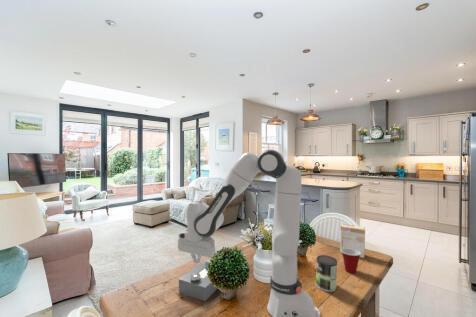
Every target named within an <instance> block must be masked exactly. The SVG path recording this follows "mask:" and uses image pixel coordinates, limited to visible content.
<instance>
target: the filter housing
mask: <svg viewBox="0 0 476 317" xmlns="http://www.w3.org/2000/svg"><path fill="white" fill-rule="evenodd" d="M204 268H205V263H201V262H200V263H197V265H196V266H194V267H193V268H191V269H190V270H189V271H188V272H187V273H185V274H183V276H181V277H180V278H178V292H179V293H181V294H183V295H186V296H188V297H191V298H195V299H197V300H200V301H202V300H203V302H206V301H207V300H208V299H209V298H210V297H211V296H212V295H213V294H214V293H215V292H216V291H217V289H216V287H214V286H213V285H212V283H211V281H210V280H209V278H208V275H207V276H206V277H205V278H200V281H198V282H197V283H194V282H191V274H193V273H200V272H201V271H202V270H203V269H204Z"/></svg>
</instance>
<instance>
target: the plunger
mask: <svg viewBox="0 0 476 317" xmlns="http://www.w3.org/2000/svg"><path fill="white" fill-rule="evenodd" d="M198 281H200V274H199V273H193V274H191V282H194V283H197V282H198Z"/></svg>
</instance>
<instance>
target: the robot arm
mask: <svg viewBox="0 0 476 317" xmlns="http://www.w3.org/2000/svg"><path fill="white" fill-rule="evenodd" d="M259 173H262V174H264V175H266V176H268V177H271V178H273V179H275V193H274V206H273V207H274V209H273V221H272V222H273V223H272V231H271V244H272V246H271V247H272V250H271V276H270V279H269V280H270V281H269V282H270V283H269V284H270V285H269V286H270V294H269V299H268V304H267V308H266V309H267V311H268V313H269V314H270V316H271V317H321V312H320V310H319V308H318V307H317V306H315V303H314V299H313V297H312V296H311V295H309V294H308V292H306V291H305V290H304V289H303V288H302V286H303V285H302V283H303V281H302V280H299V279H298V247H299V244H300V243H299V242H300V229H301V228H300V224H301V223H300V221H301V220H300V218H301V217H300V215H301V214H300V213H301V203H302V188H303V187H302V184H303V183H302V175H301V174H302V173H301V171H300V170H299V169H298V168H297V167H294V166H289V165H287V164H286V163H285V159H284V156H283V155H282V154H281V153H280V152H279V151H278V150H275V149H267V150H264V151H263V152H261V153H260V154H259V155H256V154H255V153H253V152H244V153H243V154H242V155H241V156H240V157H239V158H238V159H237V161H235V163H234V164H233V166H232V168H231V169H230V170H229V172H228V174H227V176H226V177H225V180H224V182H223V184H222V185H221V188H220V189H219V191H218V193H217V194H216V195H215V197H214V198H213V200H212V201H211V203H210V204H209V205H208V204H206V203H205V202H204V201H202V200H199V201H198V200H197V201H193V202H191V203H189V204H188V206H187V207H186V222H187V227H186V229H184V230H183V231H181V232H179V233H178V239H177V249H178V252H183V253H188V254H190V256H191V258H192V262H193V263H195V264H200V263H201V258H202V257H206V258H209V259H211V258H212V257H214V256H215V255H216V245H215V243H216V242H215V239H214V238H213V237H212V236H213V234H214V233H215V232H216V230H218V229H219V228H220V227H221V226H222V225H223V223H224V220H225V215H224V211H225V209H226V208H227V206H229V204H230V203H231V202H232V201H233V200H234V199H235V198H237V197H238V196H239V195H241V194H242V193H243V192H244V191H245V190H247V188H248V187H249V186H250V185H251V183H252V182H253V180H254V179H255V177H256V176H257V175H258V174H259ZM214 254H215V255H214Z"/></svg>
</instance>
